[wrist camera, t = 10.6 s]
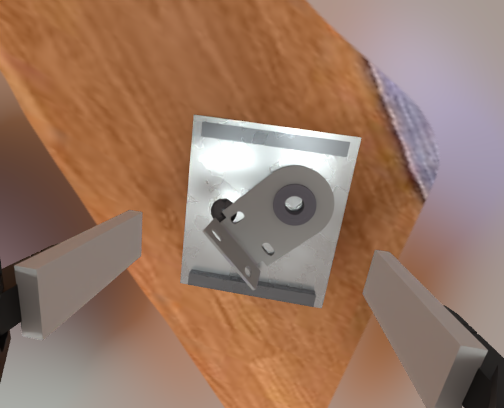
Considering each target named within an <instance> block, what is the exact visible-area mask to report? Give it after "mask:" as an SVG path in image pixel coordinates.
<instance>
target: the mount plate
mask: <svg viewBox="0 0 504 408" xmlns="http://www.w3.org/2000/svg"><path fill="white" fill-rule="evenodd" d="M360 142H361V137H353V136H346V135H339V134H332V133H324V132H317V131H310V130H303V129H295V128H288V127H281V126H274V125H266V124H259V123H252V122H245V121H237V120H230V119H223V118H216V117H208V116H201V115H194V119H193V131H192V144H191V156H190V169H189V181H188V194H187V206H186V219H185V231H184V244H183V256H182V269H181V281H180V283H184V284H188V285H194V286H199V287H205V288H210V289H216V290H222V291H227V292H233V293H238V294H244V295H249V296H255V297H261V298H266V299H272V300H277V301H283V302H289V303H294V304H300V305H305V306H311V307H318V308H322V305H323V301H324V296H325V292H326V288H327V283H328V279H329V275H330V271H331V266H332V262H333V258H334V253H335V249H336V245H337V240H338V236H339V232H340V228H341V223H342V219H343V215H344V210H345V206H346V202H347V197H348V193H349V189H350V185H351V180H352V176H353V172H354V167H355V163H356V159H357V154H358V150H359V146H360ZM287 166H304V167H308V168H311V169H313V170H315V171H317V172H318V173H319V174H321V175H322V176H323V177H324V178H325V179H326V181H327V182H328V183H329V185H330V187H331V189H332V192H333V195H334V203H335V204H334V211H333V215H332V217H331V219H330V221H329V223H328V224H327V225H326V227H325V228H324V229H323V230H322V231H320V232H319V233H318V234H316V235H315V236H313V237H312V238H310V239H308V240H307V241H305V242H304V243H302V244H301V245H299V246H298V247H296V248H295V249H293V250H291V251H290V252H288V253H287V254H285V255H284V256H282V257H281V258H279V259H278V260H276V261H274V262H273V263H271V264H270V265H268V266H266V264H265V263H264V262H263V261H262V262H260V263H259V264H258V265H257V268H258V269H259V270H260V271H261V272H260V276H259V281H258V285H257V289H255V290H252V289H251V288H250V287H249V286H248V284H247V283H246V282H245V281H244V280H243V279H242V277H241V276H240V275H239V274H238V273H237V272H236V270H235V269H234V268H233V267H232V266H231V265H230V263H229V262H228V261H227V260H226V259H225V258H224V256H223V255H222V254H221V253H220V252H219V251H218V249H217V248H216V247H215V246H214V245H213V244H212V242H211V241H210V240H209V239H208V238H207V237H206V235H205V234H204V233H203V230H204V229H205V228H206V227H207V225H208V224H209V223H210V222H211V221H212V220H213V219H214V218H216V219H217V220H218V221H219V222H221V221H223V220H224V219H225V218H226V216H225V215H224V214H223V213H222V212H223V211H224V210H225V209H226V208H228V207H229V206H230V205H231V204H233V203H234V202H235V201H237V200H238V199H239V198H240V197H242V196H243V195H244V194H246V193H247V192H248V191H249V190H251V189H252V188H253V187H255V186H256V185H257V184H258V183H260V182H261V181H262V180H264V179H265V178H266V177H267V176H269V175H270V174H271V173H273V172H274V171H276V170H278V169H280V168H283V167H287ZM285 205H286V207H287V209H288V210H290V211H294V212H295V211H299V210H300V209H302V207H303V205H304V202H303V200H302V199H301V198H299V197H297V196H292V197H290V198H288V199H287V200H286V202H285ZM243 218H244V214H243V213H242V212H236V213H235V214H234V215H233V216H231V220H232V222H234V223H237V222H239V221H240V220H242V219H243ZM212 232H213V234H214V235H215V236H216V237H217V239H218V240H219V241H221V240H220V238H219V237H218V236H217V234H216V233H215V232H214V231H212ZM262 247H263V249H264V250H265V251H266V252H267V253H268V254H270V255H271V254H273V253H274V252H275V251H274V249H273V248H272V247H271V246H270V244H268V243H264V244H262ZM245 273H246V275H247V276H248V277H249V276H250V272H249V270H248V269H247V268H245Z"/></svg>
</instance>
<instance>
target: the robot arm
mask: <svg viewBox="0 0 504 408" xmlns="http://www.w3.org/2000/svg"><path fill="white" fill-rule="evenodd" d="M141 244H142V212H139V211H133V210H128V211H126V212H124V213H122V214H120V215H118V216H116V217H114V218H112V219H110V220H107V221H105V222H103V223H101V224H99V225H97V226H95V227H93V228H91V229H89V230H87V231H85V232H83V233H81V234H78V235H76V236H74V237H72V238H70V239H68V240H66V241H64V242H62V243H59V244H56V245H52V246H50V247H47V248H45V249H43V250H41V251H40V252H37V253H35V254H33V255H31V257H30V256H29V257H26V258H24V259H22V260H20V261H18V262H16V263H14V264H12V265H9V266H7V267H5V268H3V269H1V261H0V382H1V378H2V373H3V369H4V365H5V361H6V357H7V352H8V348H9V344H10V340H11V336H10V329H11V328H13V327H14V326H16V325H17V324H18V323H20V322H21V328H22V336H24V337H29V338H34V339H39V340H44V339H45V338H46V337H47V336H49V335H50V334H51V333H52V332H53V331H54V330H56V329H57V328H58V327H59V326H60V325H61V324H63V323H64V322H65V321H66V320H67V319H68V318H70V316H72V315H73V314H74V313H75V312H76V311H78V310H79V309H80V308H81V307H82V306H83V305H85V304H86V303H87V302H88V301H89V300H90V299H92V298H93V297H94V296H95V295H96V294H97V293H98V292H100V291H101V290H102V289H103V288H104V287H105V286H107V285H108V284H109V283H110V282H111V281H112V280H114V279H115V278H116V277H117V276H118V275H119V274H120V273H122V272H123V271H124V270H125V269H126V268H127V267H129V266H130V265H131V264H132V263H133V262H134V261H136V260H137V259H138V258H139V257H140V256H141ZM363 295H364V297H365V299H366V301H367V302H368V304H369V306H370V308H371V310H372V311H373V313H374V315H375V317H376V319H377V320H378V322H379V324H380V326H381V327H382V329H383V331H384V333H385V335H386V336H387V338H388V340H389V342H390V344H391V345H392V347H393V349H394V351H395V353H396V354H397V356H398V358H399V360H400V362H401V363H402V365H403V367H404V369H405V371H406V372H407V374H408V376H409V378H410V379H411V381H412V383H413V385H414V387H415V388H416V390H417V392H418V394H419V395H420V397H421V399H422V401H423V403H424V405H425V406H426V408H462V406H463V407H464V408H504V358H503V357H502V356H501V355H500V354H499V353H498V352H497V351H496V350H495V349H494V348H493V347H492V346H490V345H489V344H488V343H487V342H486V341H485V340H484V339H483V338H482V337H481V336H480V335H479V334H477V332H476V331H475V330H474V329H473V328H472V327H471V326H469V325H468V323H467V322H466V321H464V320H463V319H462V318H461V317H460V316H459V315H458V314H457V313H455V312H454V311H452V310H451V309H449V308H448V307H446V306H444V305H442V304H441V303H440V302H439V301H438V300H437V299H436V298H435V297H434V296H433V295H432V294H431V293H430V292H429V291H428V290H427V289H426V288H425V287H424V286H423V285H422V284H421V283H420V282H419V281H418V280H417V279H416V278H415V277H414V276H413V275H412V274H411V273H410V272H409V271H408V270H407V269H406V268H405V267H404V266H403V265H402V264H401V263H400V262H399V261H398V260H397V259H396V258H395V257H394V256H393V255H392V254H391V253H390V252H387V251H380V250H375V252H374V255H373V259H372V262H371V266H370V269H369V273H368V276H367V280H366V283H365V287H364V290H363Z"/></svg>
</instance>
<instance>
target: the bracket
mask: <svg viewBox="0 0 504 408" xmlns="http://www.w3.org/2000/svg"><path fill="white" fill-rule="evenodd" d="M292 196H297V197H299V198H301V199H302V200H303V202H304V205H303V207H302V209H300V210H299V211H295V212H294V211H290V210H288V209H287V207H286V205H285V202H286V200H287V199H288V198H290V197H292ZM334 204H335V203H334V195H333V192H332V189H331V187H330V185H329V183H328V182H327V181H326V179H325V178H324V177H323V176H322V175H321V174H319V173H318V172H317V171H315V170H313V169H311V168H308V167H304V166H287V167H283V168H280V169H278V170H276V171H274V172H273V173H271V174H270V175H269V176H267V177H266V178H265V179H264V180H262V181H261V182H260V183H258V184H257V185H256V186H255V187H253V188H252V189H251V190H249V191H248V192H247V193H246V194H244V195H243V196H242V197H240V198H239V199H238V200H237V201H235V202H234V203H233V204H231V205H230V206H229V207H228V208H226V209H225V210H224V211H223V212H222V213H223V214H224V215H225V216H226V218H225V219H224V220H223V221H221V222H219V221H218V220H217V219H216V218H214V219H213V220H212V221H211V222H210V223H209V224H208V225H207V227H206V228H205V229H204V230H203V233H204V234H205V235H206V237H207V238H208V239H209V240H210V241H211V242H212V244H213V245H214V246H215V247H216V248H217V249H218V251H219V252H220V253H221V254H222V255H223V256H224V258H225V259H226V260H227V261H228V262H229V263H230V265H231V266H232V267H233V268H234V269H235V270H236V272H237V273H238V274H239V275H240V276H241V277H242V279H243V280H244V281H245V282H246V283H247V284H248V286H249V287H250V288H251V289H252V290H255V289H257V285H258V281H259V276H260V272H261V271H260V270H259V269H258V268H257V265H258V264H259V263H260V262H262V261H263V262H264V263H265V264H266V266H268V265H270V264H271V263H273V262H274V261H276V260H278V259H279V258H281V257H282V256H284V255H285V254H287V253H288V252H290V251H291V250H293V249H295V248H296V247H298V246H299V245H301V244H302V243H304V242H305V241H307V240H308V239H310V238H312V237H313V236H315V235H316V234H318V233H319V232H320V231H322V230H323V229H324V228H325V227H326V225H327V224H328V223H329V221H330V219H331V217H332V215H333V211H334ZM236 212H242V213H243V214H244V218H243V219H242V220H240V221H239V222H237V223H234V222H232V220H231V216H233V215H234V214H235V213H236ZM212 231H214V232H215V233H216V234H217V236H218V237H219V238H220V240H221V241H219V240H218V239H217V237H216V236H215V235H214V234H213V232H212ZM264 243H268V244H270V246H271V247H272V248H273V249H274V251H275V252H274V253H273V254H271V255H270V254H268V253H267V252H266V251H265V250H264V249H263V247H262V244H264ZM245 268H247V269H248V270H249V272H250V276H249V277H248V276H247V275H246V273H245Z"/></svg>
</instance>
